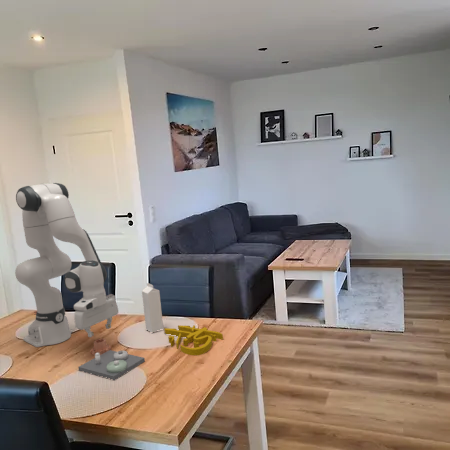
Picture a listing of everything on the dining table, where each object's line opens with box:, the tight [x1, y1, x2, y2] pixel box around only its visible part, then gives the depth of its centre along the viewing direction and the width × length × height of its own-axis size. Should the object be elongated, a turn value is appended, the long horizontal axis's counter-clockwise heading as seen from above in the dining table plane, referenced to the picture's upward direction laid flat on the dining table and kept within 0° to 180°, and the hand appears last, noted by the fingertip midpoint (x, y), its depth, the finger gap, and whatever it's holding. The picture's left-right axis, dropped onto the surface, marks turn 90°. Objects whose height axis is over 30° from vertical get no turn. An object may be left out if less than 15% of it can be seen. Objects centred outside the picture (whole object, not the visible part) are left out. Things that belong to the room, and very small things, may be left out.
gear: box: [90, 338, 112, 356], centre depth 180 cm, size 8×8×5 cm
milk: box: [141, 282, 164, 333], centre depth 198 cm, size 6×6×22 cm
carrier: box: [77, 349, 146, 381], centre depth 165 cm, size 19×16×6 cm
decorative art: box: [163, 324, 224, 356], centre depth 184 cm, size 21×3×30 cm
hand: (100, 332), depth 178 cm, fingers open, 8 cm apart
